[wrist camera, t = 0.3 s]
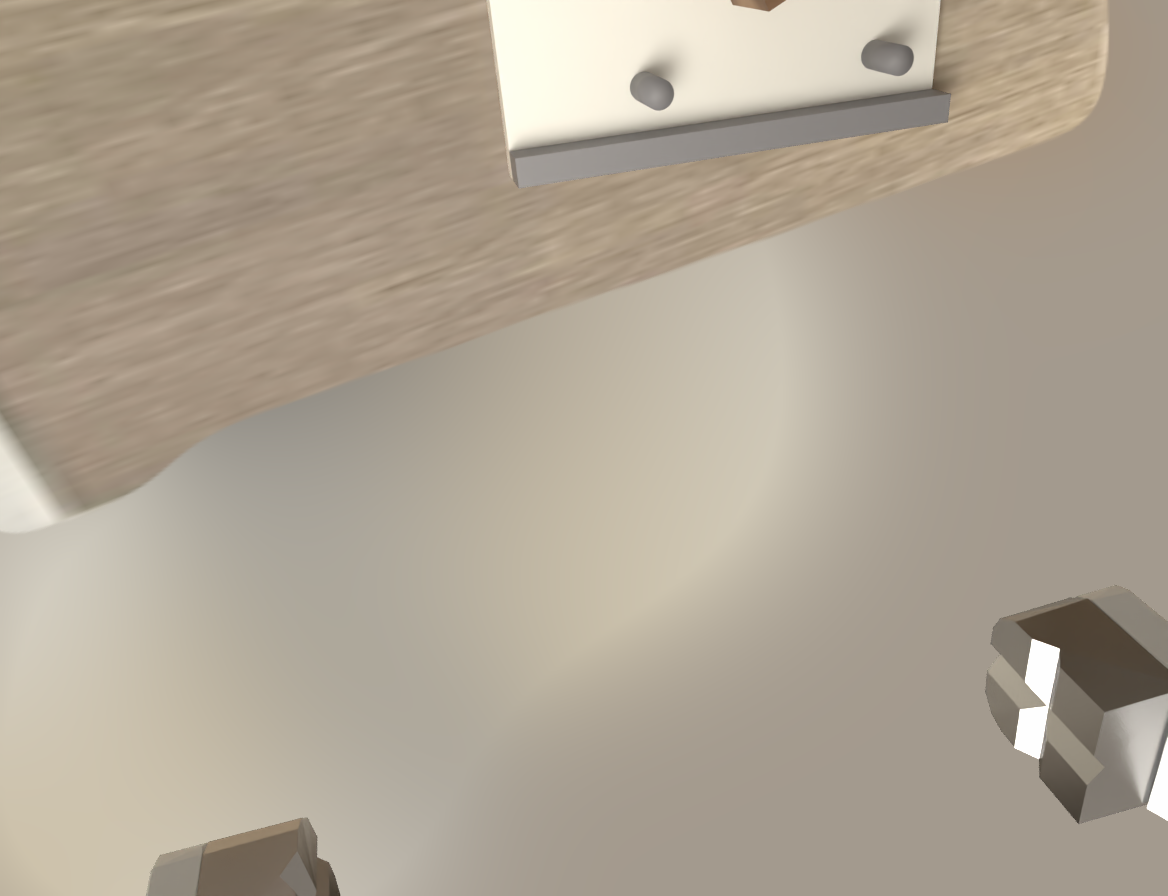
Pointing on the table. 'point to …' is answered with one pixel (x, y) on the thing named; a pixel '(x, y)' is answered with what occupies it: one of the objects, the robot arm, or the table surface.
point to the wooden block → (758, 4)
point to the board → (703, 79)
